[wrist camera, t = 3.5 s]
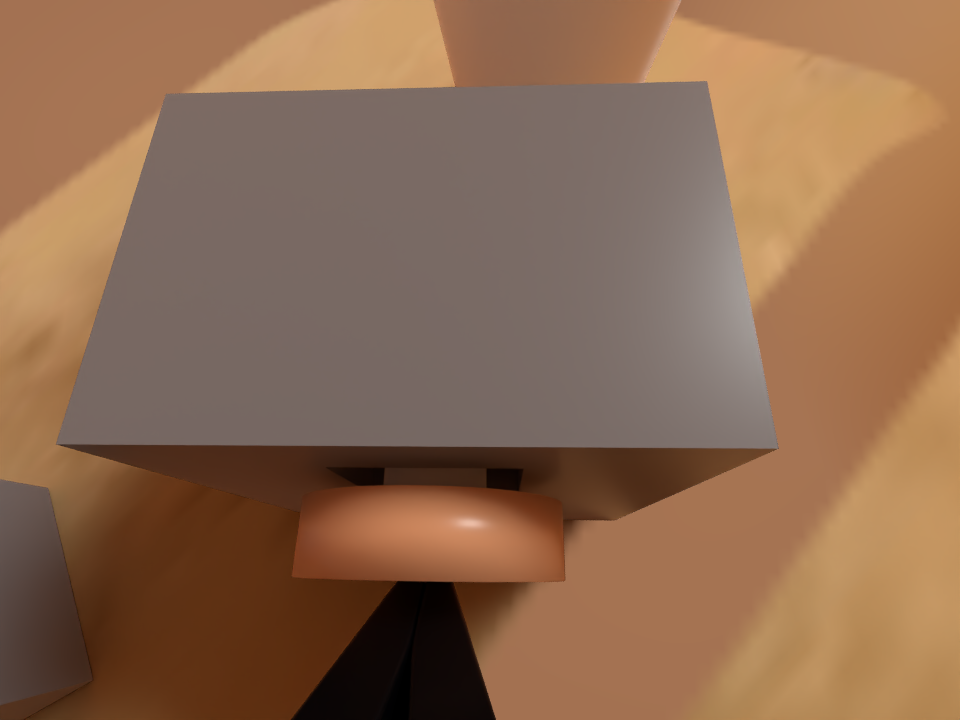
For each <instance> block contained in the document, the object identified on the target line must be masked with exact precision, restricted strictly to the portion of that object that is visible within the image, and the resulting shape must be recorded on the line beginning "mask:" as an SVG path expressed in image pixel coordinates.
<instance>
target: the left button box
mask: <svg viewBox="0 0 960 720" xmlns="http://www.w3.org/2000/svg"><path fill="white" fill-rule="evenodd" d="M92 680H93V677H92V673H91V669H90V664H89V660H88V656H87V652H86V647H85V643H84V639H83V635H82V630H81V626H80V622H79V618H78V613H77V609H76V605H75V601H74V596H73V592H72V588H71V584H70V579H69V575H68V571H67V567H66V562H65V558H64V554H63V550H62V545H61V541H60V537H59V533H58V528H57V524H56V520H55V515H54V511H53V507H52V503H51V498H50V494H49V490H48V488H45V487H39V486H34V485H28V484H23V483H17V482H11V481H6V480H0V720H24V719H25V718H27V717H29V716H31V715H32V714H34V713H36V712H38V711H39V710H41V709H43V708H45V707H47V706H48V705H50V704H52V703H54V702H55V701H57V700H59V699H61V698H62V697H64V696H66V695H68V694H70V693H71V692H73V691H75V690H77V689H78V688H80V687H82V686H84V685H85V684H87V683H89V682H91V681H92Z"/></svg>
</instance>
